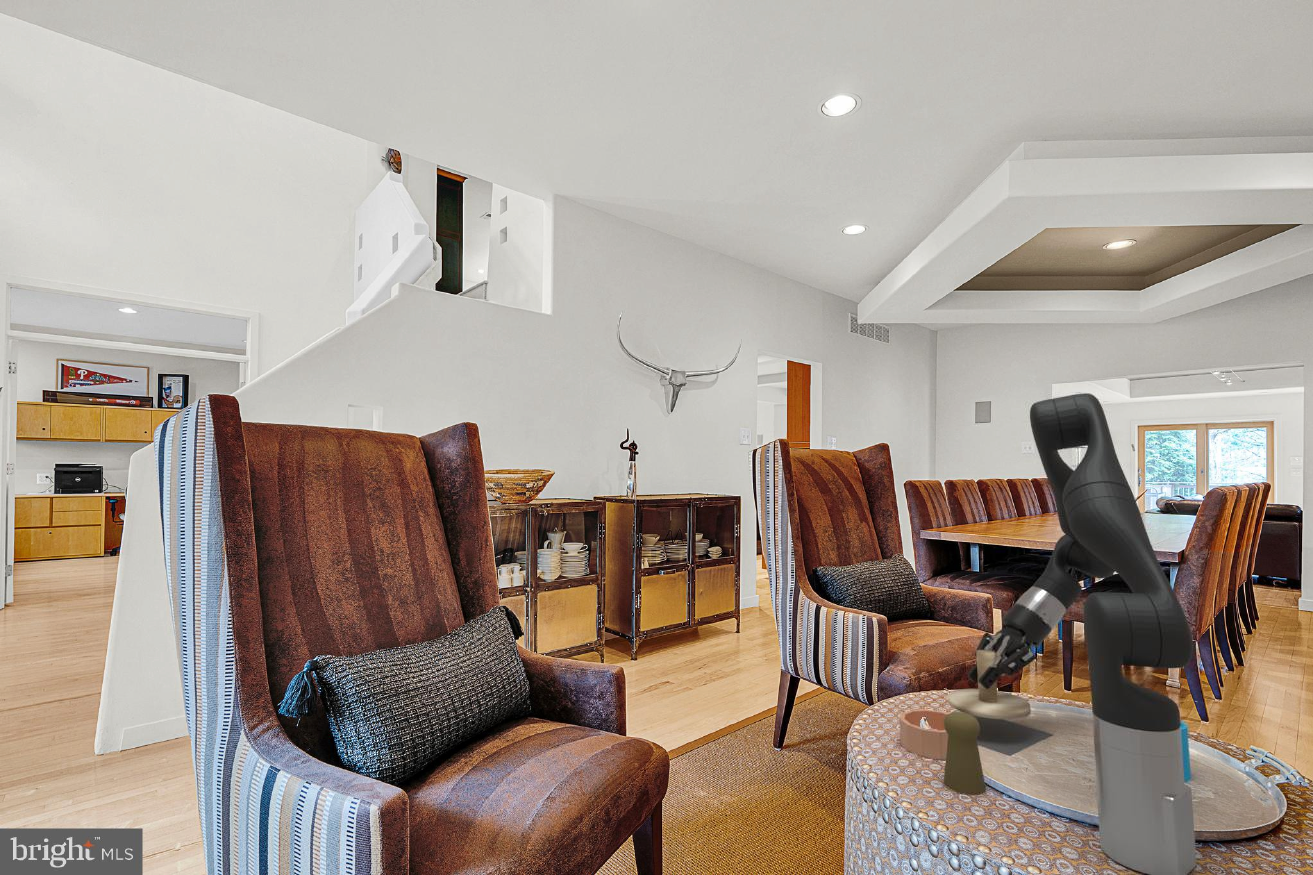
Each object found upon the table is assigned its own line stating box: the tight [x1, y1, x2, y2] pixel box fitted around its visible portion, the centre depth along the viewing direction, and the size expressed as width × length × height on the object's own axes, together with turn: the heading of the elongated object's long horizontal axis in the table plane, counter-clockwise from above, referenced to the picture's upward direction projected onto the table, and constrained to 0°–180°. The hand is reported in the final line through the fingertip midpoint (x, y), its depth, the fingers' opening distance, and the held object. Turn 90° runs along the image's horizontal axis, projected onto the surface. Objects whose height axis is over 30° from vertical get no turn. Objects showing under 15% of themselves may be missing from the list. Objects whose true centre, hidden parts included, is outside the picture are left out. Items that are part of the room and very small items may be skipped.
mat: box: [972, 715, 1054, 757], centre depth 123 cm, size 16×16×1 cm
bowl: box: [899, 708, 950, 761], centre depth 116 cm, size 11×11×5 cm
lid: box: [947, 649, 1032, 720], centre depth 124 cm, size 14×14×10 cm
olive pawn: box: [943, 711, 987, 795], centre depth 102 cm, size 6×6×11 cm
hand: (977, 682), depth 123 cm, fingers closed on lid, 3 cm apart
